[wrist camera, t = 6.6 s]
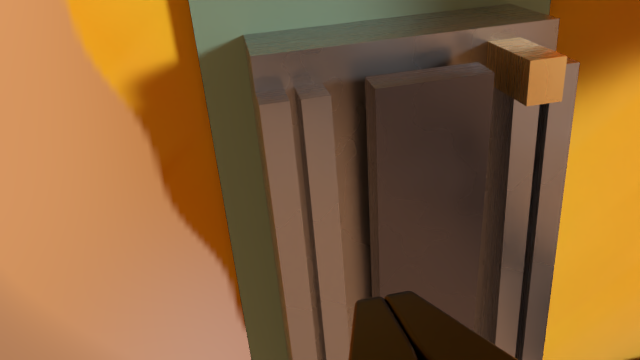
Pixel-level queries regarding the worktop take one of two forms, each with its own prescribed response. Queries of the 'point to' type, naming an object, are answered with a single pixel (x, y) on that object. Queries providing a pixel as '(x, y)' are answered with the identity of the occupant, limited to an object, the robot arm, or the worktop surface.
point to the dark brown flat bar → (428, 182)
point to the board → (241, 135)
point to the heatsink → (352, 164)
